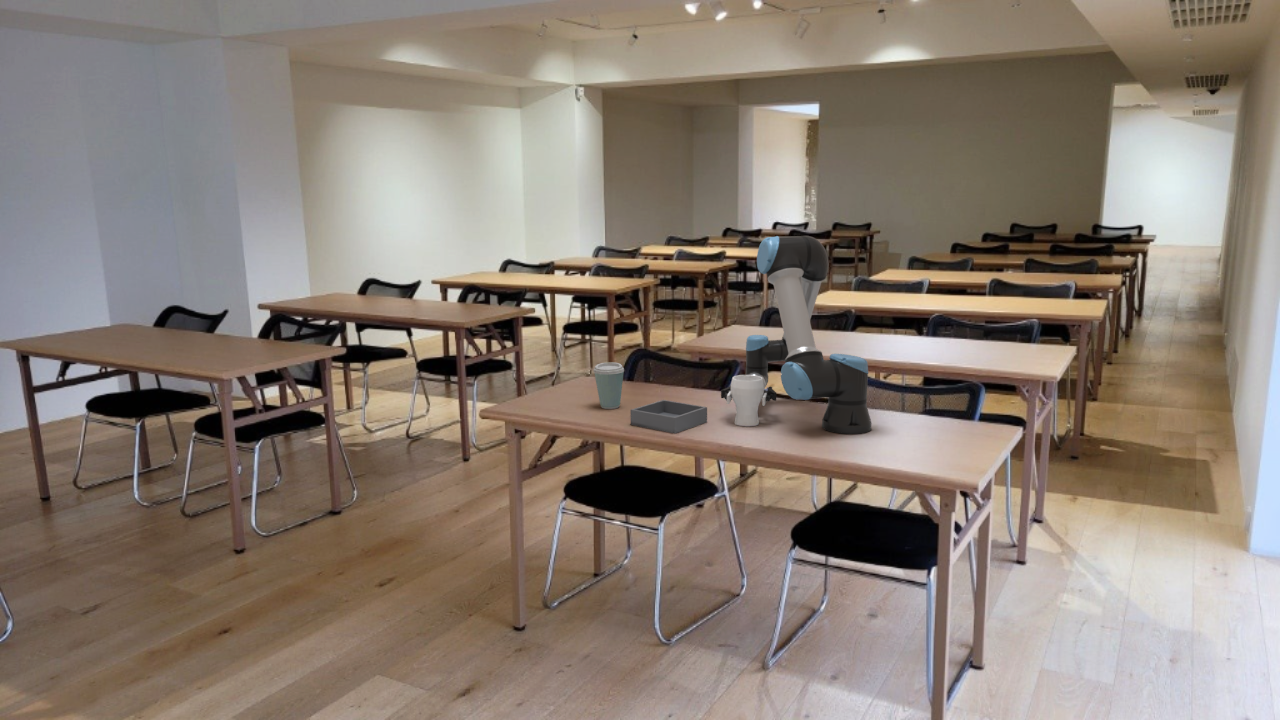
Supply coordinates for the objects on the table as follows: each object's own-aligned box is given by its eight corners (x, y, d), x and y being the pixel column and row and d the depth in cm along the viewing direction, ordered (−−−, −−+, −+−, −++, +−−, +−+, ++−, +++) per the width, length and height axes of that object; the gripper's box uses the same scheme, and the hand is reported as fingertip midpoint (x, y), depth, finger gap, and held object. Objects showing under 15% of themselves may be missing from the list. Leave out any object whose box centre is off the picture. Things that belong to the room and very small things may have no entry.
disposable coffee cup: (624, 410, 312) (623, 367, 310) (592, 410, 313) (592, 367, 310) (625, 403, 323) (624, 361, 320) (594, 403, 323) (594, 361, 320)
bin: (707, 422, 297) (707, 407, 296) (674, 433, 283) (675, 417, 282) (663, 414, 307) (663, 399, 306) (630, 424, 294) (630, 409, 293)
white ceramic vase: (765, 427, 289) (766, 381, 287) (732, 428, 289) (732, 381, 287) (761, 419, 300) (761, 374, 297) (728, 419, 300) (729, 374, 297)
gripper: (787, 398, 308) (782, 413, 287) (719, 395, 314) (709, 410, 292) (788, 376, 307) (782, 390, 286) (719, 373, 312) (709, 387, 291)
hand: (745, 400), depth 289 cm, fingers closed on white ceramic vase, 11 cm apart
